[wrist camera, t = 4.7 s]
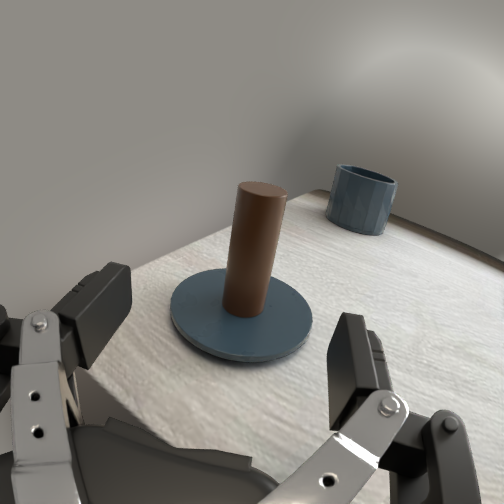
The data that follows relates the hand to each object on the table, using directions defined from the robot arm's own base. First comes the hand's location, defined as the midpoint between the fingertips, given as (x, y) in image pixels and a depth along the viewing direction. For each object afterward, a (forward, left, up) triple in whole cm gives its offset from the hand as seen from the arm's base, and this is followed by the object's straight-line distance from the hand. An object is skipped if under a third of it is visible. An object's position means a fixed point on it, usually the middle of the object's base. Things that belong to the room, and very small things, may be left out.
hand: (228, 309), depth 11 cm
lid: (-1, +8, -6) cm, 10 cm away
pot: (+6, +36, -7) cm, 37 cm away
